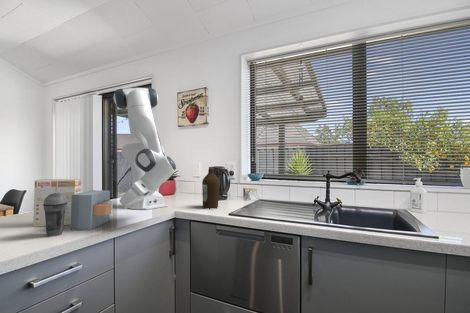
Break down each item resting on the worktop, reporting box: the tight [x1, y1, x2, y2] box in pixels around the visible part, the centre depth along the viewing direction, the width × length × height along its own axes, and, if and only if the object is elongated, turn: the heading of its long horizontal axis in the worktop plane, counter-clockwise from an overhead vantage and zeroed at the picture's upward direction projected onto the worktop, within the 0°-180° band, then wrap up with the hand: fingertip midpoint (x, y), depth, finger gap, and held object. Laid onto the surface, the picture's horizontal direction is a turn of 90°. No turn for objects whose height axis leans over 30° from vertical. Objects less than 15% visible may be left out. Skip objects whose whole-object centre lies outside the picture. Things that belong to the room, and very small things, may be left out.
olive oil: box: [201, 166, 220, 210], centre depth 141 cm, size 11×11×25 cm
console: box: [70, 189, 111, 231], centre depth 99 cm, size 8×14×14 cm, turn 1°
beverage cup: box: [43, 181, 67, 237], centre depth 86 cm, size 7×7×20 cm
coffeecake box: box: [32, 178, 82, 228], centre depth 100 cm, size 15×7×20 cm, turn 105°
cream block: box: [103, 200, 114, 211], centre depth 103 cm, size 6×4×4 cm, turn 91°
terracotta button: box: [93, 204, 112, 215], centre depth 96 cm, size 6×4×4 cm, turn 91°
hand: (124, 207), depth 103 cm, fingers closed
